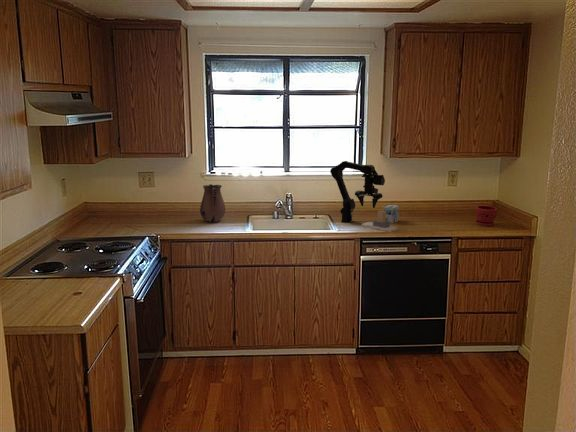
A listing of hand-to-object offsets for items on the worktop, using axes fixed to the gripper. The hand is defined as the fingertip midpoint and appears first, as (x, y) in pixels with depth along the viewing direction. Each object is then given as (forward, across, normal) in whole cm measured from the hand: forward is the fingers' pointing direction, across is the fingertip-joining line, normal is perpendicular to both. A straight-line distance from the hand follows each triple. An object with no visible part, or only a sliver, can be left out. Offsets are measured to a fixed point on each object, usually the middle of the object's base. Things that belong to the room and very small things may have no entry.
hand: (368, 207), depth 333 cm
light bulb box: (+12, -6, -19) cm, 23 cm away
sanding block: (+10, -12, +2) cm, 16 cm away
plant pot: (+12, -58, -54) cm, 80 cm away
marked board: (+12, -11, +2) cm, 16 cm away
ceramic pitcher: (+12, +83, +66) cm, 107 cm away
